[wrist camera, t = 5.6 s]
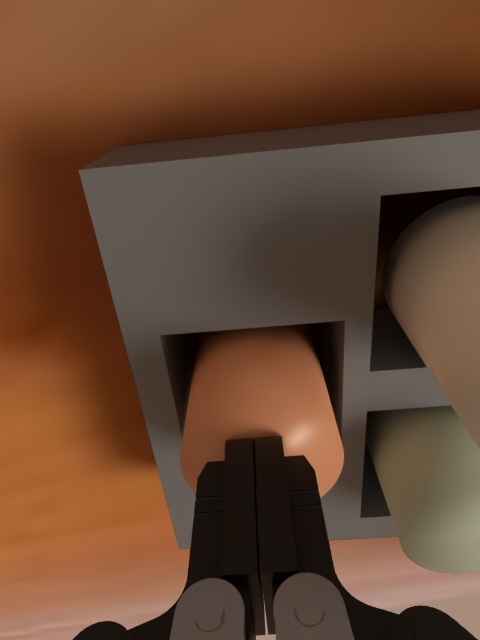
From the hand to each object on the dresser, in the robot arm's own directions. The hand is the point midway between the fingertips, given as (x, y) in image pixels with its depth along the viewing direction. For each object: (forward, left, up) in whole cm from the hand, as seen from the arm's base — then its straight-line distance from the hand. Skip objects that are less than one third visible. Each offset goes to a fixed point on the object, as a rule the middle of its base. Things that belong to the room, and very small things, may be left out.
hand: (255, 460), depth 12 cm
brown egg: (0, 0, -6) cm, 6 cm away
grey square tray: (-3, 0, -7) cm, 7 cm away
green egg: (-6, +4, -6) cm, 9 cm away
